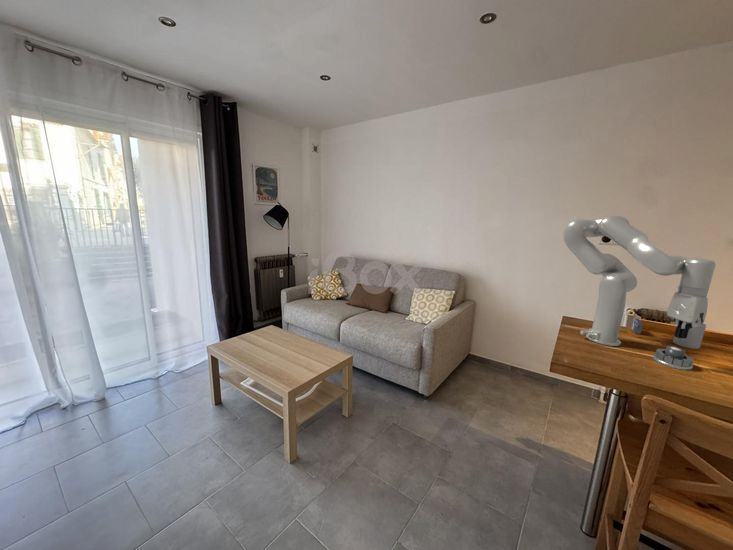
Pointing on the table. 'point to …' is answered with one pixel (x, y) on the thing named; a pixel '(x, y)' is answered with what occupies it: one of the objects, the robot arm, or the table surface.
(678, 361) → the grey notched ring
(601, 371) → the table surface
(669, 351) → the cap
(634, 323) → the mini dv tape
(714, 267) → the robot arm
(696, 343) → the mug
